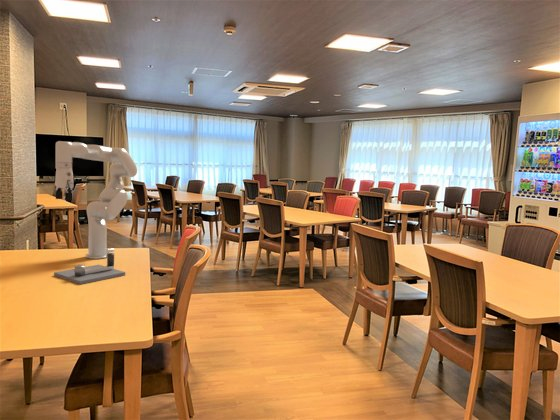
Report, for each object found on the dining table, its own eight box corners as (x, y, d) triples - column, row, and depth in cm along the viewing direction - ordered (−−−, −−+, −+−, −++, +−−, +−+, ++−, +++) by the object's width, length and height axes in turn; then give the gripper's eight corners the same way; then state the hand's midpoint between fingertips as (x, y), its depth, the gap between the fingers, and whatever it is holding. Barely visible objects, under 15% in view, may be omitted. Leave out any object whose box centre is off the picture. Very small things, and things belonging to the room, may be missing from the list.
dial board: (98, 267, 222) (98, 264, 222) (125, 275, 209) (125, 271, 209) (54, 275, 203) (54, 271, 203) (80, 284, 190) (80, 280, 190)
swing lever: (77, 276, 196) (77, 260, 196) (72, 274, 199) (72, 258, 198) (116, 268, 213) (116, 253, 212) (110, 267, 215) (110, 252, 214)
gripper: (79, 166, 217) (79, 200, 218) (62, 165, 227) (62, 198, 229) (64, 166, 211) (64, 201, 212) (48, 165, 221) (48, 198, 223)
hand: (63, 199), depth 221 cm, fingers open, 9 cm apart
